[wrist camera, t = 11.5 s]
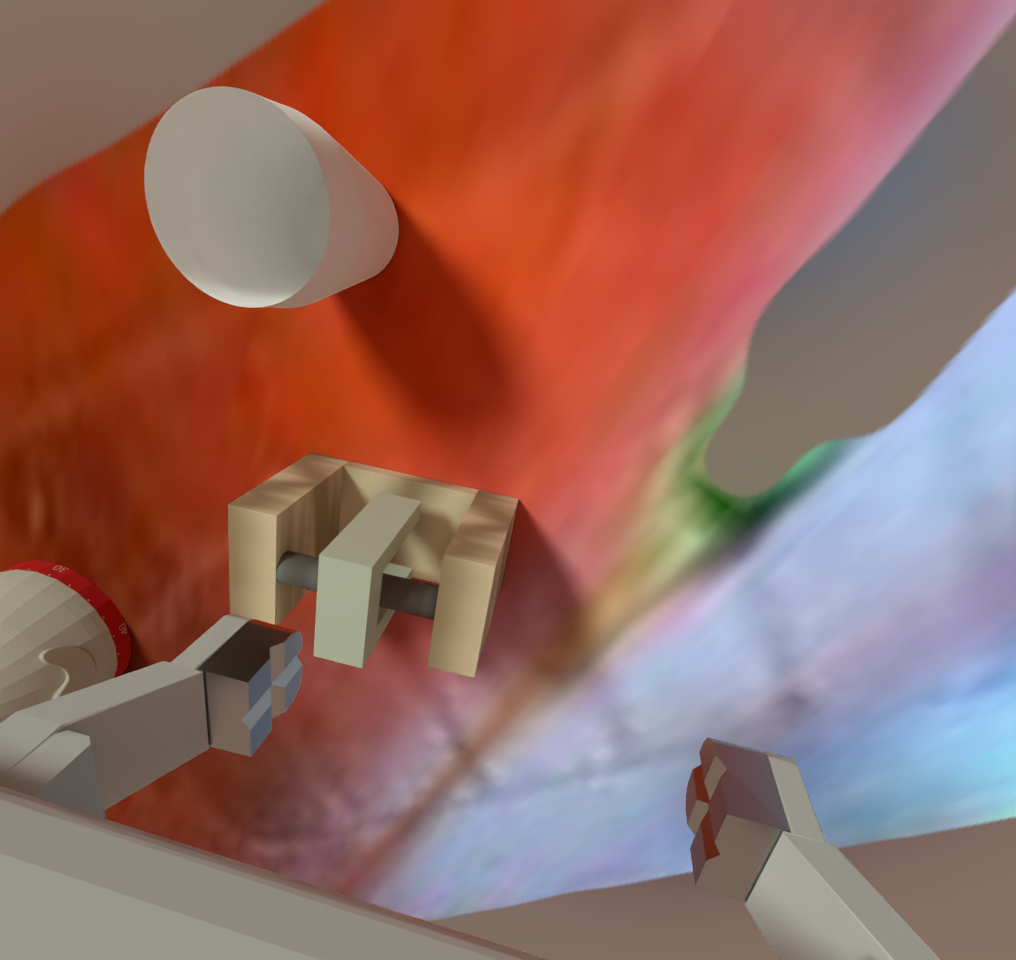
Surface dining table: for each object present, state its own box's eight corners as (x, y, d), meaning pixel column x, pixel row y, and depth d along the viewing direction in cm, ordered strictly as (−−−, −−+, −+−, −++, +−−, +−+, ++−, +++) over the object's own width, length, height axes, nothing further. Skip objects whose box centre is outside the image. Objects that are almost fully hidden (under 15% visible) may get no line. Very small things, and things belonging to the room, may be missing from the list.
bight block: (421, 501, 38) (371, 567, 29) (410, 585, 40) (362, 668, 32) (379, 491, 38) (319, 554, 30) (371, 576, 41) (313, 655, 32)
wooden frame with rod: (518, 498, 40) (495, 566, 31) (500, 590, 43) (474, 678, 34) (310, 452, 41) (228, 504, 32) (306, 545, 44) (230, 617, 35)
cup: (371, 328, 37) (275, 351, 26) (260, 241, 36) (112, 226, 25) (445, 209, 34) (372, 178, 23) (325, 111, 33) (188, 27, 22)
